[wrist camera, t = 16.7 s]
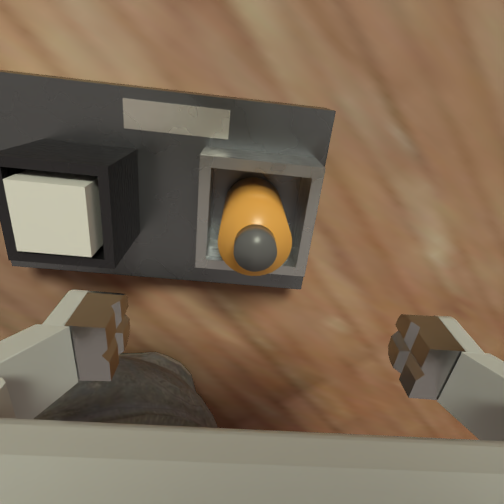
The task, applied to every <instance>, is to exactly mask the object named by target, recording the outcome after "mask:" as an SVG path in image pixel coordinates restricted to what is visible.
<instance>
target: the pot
mask: <svg viewBox="0 0 504 504" xmlns="http://www.w3.org/2000/svg"><path fill="white" fill-rule="evenodd" d="M34 419H37V420H58V421H80V422H101V423H123V424H144V425H166V426H187V427H209V428H218V427H217V424H216V422H215V419H214V417H213V415H212V413H211V412H210V410H209V409H208V407H207V406H206V404H205V403H204V401H203V399H202V398H201V397H200V396H199V395H198V394H197V393H196V390H195V387H194V383H193V379H192V375H191V374H190V372H189V371H188V370H187V369H186V368H185V367H184V366H183V365H182V364H181V363H180V362H178V361H176V360H174V359H173V358H171V357H169V356H166V355H163V354H160V353H157V352H148V353H121V354H119V364H118V367H117V369H116V371H115V374H114V376H113V378H112V380H111V381H82V380H78V383H77V384H76V385H74V386H73V387H72V388H71V389H69V390H68V391H67V392H66V393H64V394H63V395H62V396H61V397H60V398H58V399H57V400H56V401H55V402H53V403H52V404H51V405H50V406H48V407H47V408H46V409H45V410H44V411H42V412H41V413H40V414H39V415H37V416H36V417H35V418H34Z"/></svg>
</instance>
